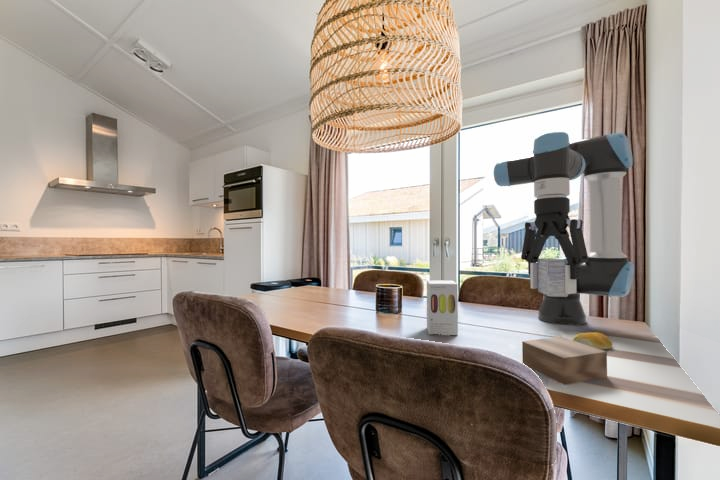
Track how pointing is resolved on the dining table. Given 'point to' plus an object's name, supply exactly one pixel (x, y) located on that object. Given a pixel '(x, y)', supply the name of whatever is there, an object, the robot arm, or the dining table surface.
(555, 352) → the walnut block
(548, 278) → the medicine box
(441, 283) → the supplement box
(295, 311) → the dining table surface
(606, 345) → the bread roll
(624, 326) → the dining table surface
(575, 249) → the robot arm
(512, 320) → the dining table surface
